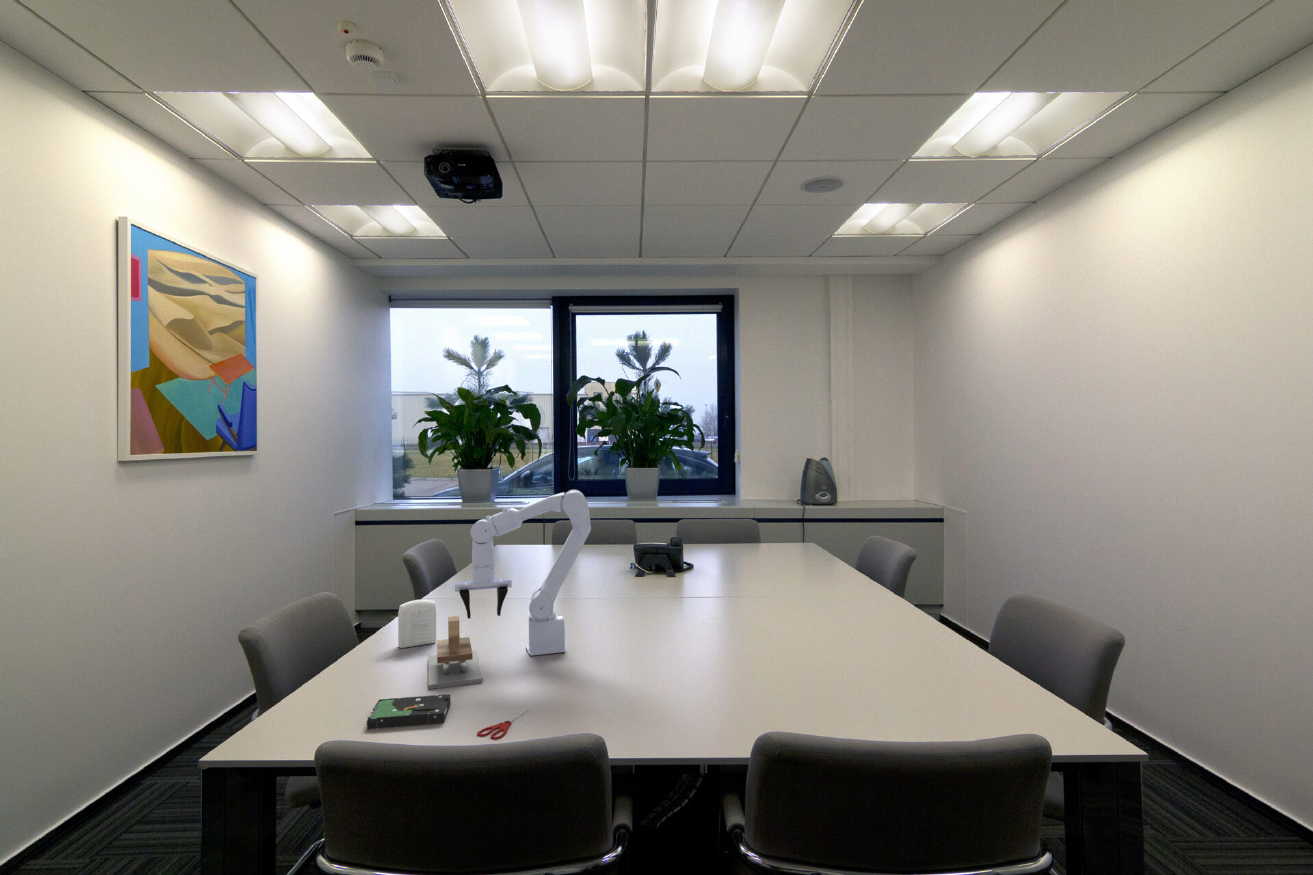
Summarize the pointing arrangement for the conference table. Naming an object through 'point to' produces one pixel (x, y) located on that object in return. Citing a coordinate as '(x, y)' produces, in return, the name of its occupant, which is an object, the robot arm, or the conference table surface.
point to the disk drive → (409, 711)
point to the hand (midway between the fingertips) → (483, 616)
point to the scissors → (501, 726)
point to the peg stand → (454, 672)
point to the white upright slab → (416, 623)
